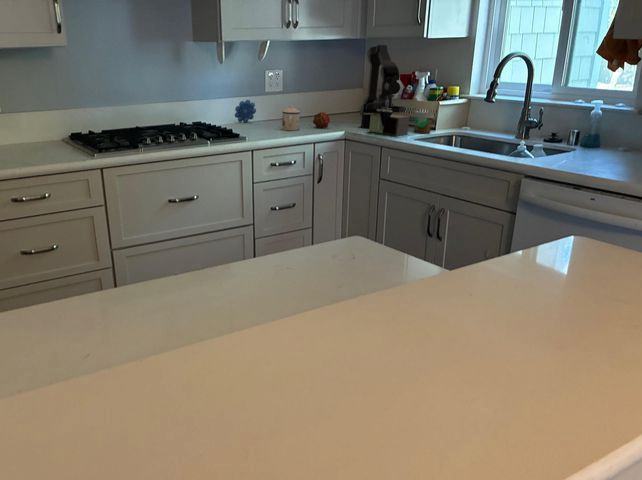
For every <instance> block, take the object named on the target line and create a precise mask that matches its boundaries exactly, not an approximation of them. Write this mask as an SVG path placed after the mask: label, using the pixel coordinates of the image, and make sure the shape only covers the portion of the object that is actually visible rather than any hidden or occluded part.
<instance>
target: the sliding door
mask: <svg viewBox="0 0 642 480" xmlns="http://www.w3.org/2000/svg"><path fill="white" fill-rule="evenodd" d="M383 128H384V126H382V122H381V118H380V116H373V115H371V118H370V128H368V132H377V133H383Z"/></svg>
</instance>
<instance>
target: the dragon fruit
mask: <svg viewBox="0 0 642 480" xmlns="http://www.w3.org/2000/svg"><path fill="white" fill-rule="evenodd" d="M330 122H331V119H330V116H329V114H327V113H326V112H323V111H322V112H318V113H317V114H315V115H313V120H312V124H313V125H314V126H315V127H316V128H319V129H323V128H328V127H329V124H330Z"/></svg>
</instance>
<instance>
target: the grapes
mask: <svg viewBox="0 0 642 480" xmlns="http://www.w3.org/2000/svg"><path fill="white" fill-rule="evenodd" d="M255 106H256V104H255V102H251V100H250V99H246V100H241V101H240V102H239V103H238V105H237V106H235V108H234V110H235V113H234V117H235V118H237V121H238V123H242V122H243V123H244V124H246V123H248V122H249V120H250V121H251V120H253V119H254V114H256V112H257V109H256V108H255Z"/></svg>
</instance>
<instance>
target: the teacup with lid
mask: <svg viewBox="0 0 642 480" xmlns="http://www.w3.org/2000/svg"><path fill="white" fill-rule="evenodd" d="M281 113H282V117H281V118H282V119H281V130H284V131H290V132H291V131H293V132H294V131H299V130H300V114H301V111H300V110H298V109H297V108H295V107H294V105H289V107H286V108H285V109H283V110H282V111H281Z"/></svg>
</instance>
